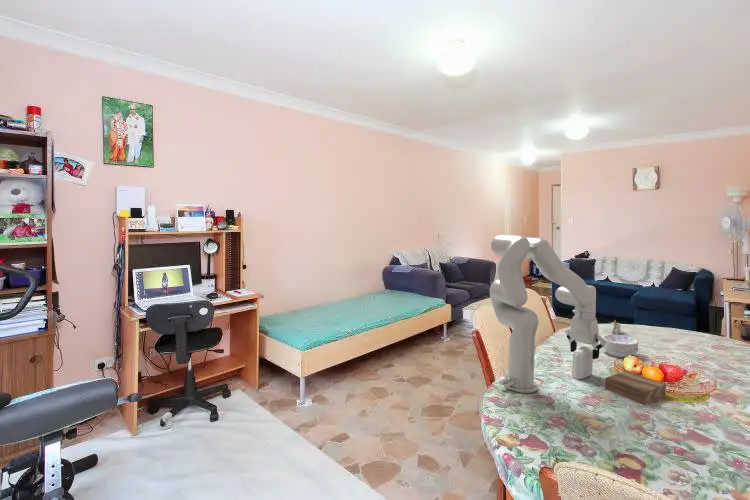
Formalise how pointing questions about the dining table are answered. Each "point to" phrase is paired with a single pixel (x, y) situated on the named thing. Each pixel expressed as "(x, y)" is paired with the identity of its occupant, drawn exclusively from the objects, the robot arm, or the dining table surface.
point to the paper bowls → (620, 345)
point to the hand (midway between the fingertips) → (584, 354)
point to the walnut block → (635, 387)
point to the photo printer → (582, 363)
